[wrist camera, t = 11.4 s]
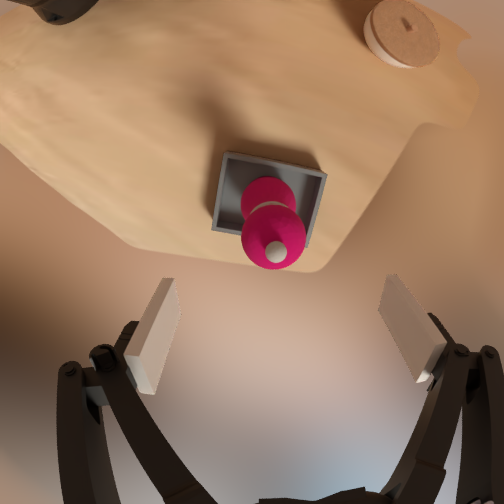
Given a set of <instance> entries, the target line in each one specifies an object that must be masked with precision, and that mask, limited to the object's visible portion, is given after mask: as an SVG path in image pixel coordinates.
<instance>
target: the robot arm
mask: <svg viewBox="0 0 504 504" xmlns="http://www.w3.org/2000/svg"><path fill="white" fill-rule="evenodd" d="M8 1H12V2H16V3H20V4H23V5H27V6H30V7H32V8H33V9H34V10H35V12H36V13H37V14H38V15H39V16H40V17H41V19H42V20H44V21H45V22H47V23H50V24H53V25H63V24H67V23H69V22H72V21H74V20H76V19H77V18H79V17H80V16H82V15H83V14H84V13H86V12H87V11H88V10H89V9H90V8H92V7H93V6H94V5H95V4H96V2H97V1H98V0H8ZM378 311H379V313H380V314H381V316H382V318H383V320H384V322H385V324H386V325H387V327H388V329H389V331H390V333H391V335H392V337H393V338H394V340H395V342H396V344H397V346H398V348H399V350H400V351H401V354H402V356H403V358H404V360H405V362H406V364H407V366H408V368H409V370H410V372H411V374H412V376H413V378H414V380H415V382H416V383H418V382H422V381H426V380H428V378H429V376H430V375H431V373H432V374H433V376H434V379H433V381H432V382H431V384H430V386H429V387H428V389H427V391H429V392H428V395H427V398H426V401H425V403H424V406H423V409H422V412H421V414H420V416H419V419H418V421H417V424H416V426H415V429H414V431H413V433H412V436H411V438H410V440H409V442H408V444H407V447H406V449H405V451H404V453H403V455H402V457H401V459H400V461H399V463H398V465H397V467H396V469H395V471H394V473H393V474H392V476H391V478H390V480H389V481H388V483H387V484H386V485H385V487H384V488H383V489H382V490H381V492H380V493H376V492H369V491H365V487H361V488H356V489H351V490H347V491H340V492H338V493H335V494H333V495H330V496H328V497H325V498H322V499H319V500H317V501H307V500H298V499H290V498H272V499H259V503H256V504H434V502H435V499H436V497H437V495H438V493H439V490H440V488H441V485H442V483H443V481H444V478H445V475H446V470H445V469H444V464H445V461H446V458H447V456H448V453H449V450H450V447H451V444H452V440H453V437H454V434H455V430H456V426H457V423H458V419H459V415H460V411H461V407H462V449H461V463H460V473H459V481H458V488H457V496H456V504H504V374H503V369H502V365H501V361H500V357H499V354H498V351H497V350H496V349H495V348H494V347H492V346H488V345H485V346H483V347H482V349H481V350H480V352H470V351H469V349H468V348H467V347H466V346H464V345H462V344H456V343H455V342H454V340H453V339H452V337H451V336H450V335H449V333H448V332H447V330H446V329H445V328H444V326H443V325H442V324H441V322H440V321H439V319H438V318H437V317H436V316H434V315H433V314H432V313H426V312H425V310H424V309H423V308H422V306H421V305H420V303H419V302H418V301H417V300H416V298H415V297H414V296H413V294H412V293H411V292H410V290H409V289H408V288H407V287H406V285H405V284H404V283H403V281H402V280H401V279H400V278H399V276H398V275H397V274H394V275H387V276H386V280H385V284H384V289H383V293H382V297H381V301H380V305H379V308H378ZM180 316H181V311H180V307H179V301H178V296H177V290H176V284H175V279H174V278H162V280H161V282H160V284H159V286H158V287H157V289H156V291H155V293H154V295H153V297H152V299H151V301H150V302H149V305H148V307H147V308H146V310H145V312H144V314H143V316H142V318H141V320H140V321H131V322H129V323H128V324H127V325H126V326H125V327H124V329H123V331H122V332H121V335H120V336H119V338H118V340H117V342H116V343H115V345H114V347H113V346H111V345H109V344H102V345H98V346H96V347H94V348H93V349H92V350H91V352H90V354H89V359H90V361H91V363H92V365H93V367H88V368H82V367H81V365H80V364H79V363H78V362H76V361H69V362H66V363H65V364H63V365H62V366H61V367H60V369H59V372H58V385H57V450H58V463H59V473H60V482H61V489H62V495H63V501H64V504H121V502H120V499H119V496H118V492H117V488H116V484H115V480H114V476H113V471H112V467H111V463H110V457H109V452H108V447H107V441H106V435H105V429H104V422H103V414H102V406H104V405H110V406H111V409H112V411H113V413H114V415H115V417H116V419H117V421H118V423H119V425H120V427H121V429H122V431H123V433H124V435H125V437H126V439H127V441H128V443H129V444H130V446H131V448H132V450H133V451H134V453H135V455H136V457H137V458H138V460H139V462H140V464H141V465H142V467H143V469H144V470H145V471H146V473H147V475H148V476H149V478H150V480H151V481H152V483H153V484H154V486H155V487H156V488H157V490H158V492H159V493H160V494H161V496H162V497H163V501H164V502H165V504H218V503H217V502H216V501H215V500H214V499H213V498H212V497H211V496H210V494H209V493H208V492H207V491H206V490H205V489H204V487H203V486H202V485H201V484H200V483H199V482H198V481H197V480H196V479H195V478H194V476H193V475H192V474H191V473H190V471H189V470H188V469H187V467H186V466H185V465H184V464H183V462H182V461H181V460H180V458H179V457H178V456H177V454H176V453H175V451H174V450H173V449H172V447H171V446H170V444H169V443H168V442H167V440H166V439H165V437H164V436H163V434H162V433H161V431H160V430H159V428H158V427H157V425H156V424H155V422H154V420H153V419H152V417H151V416H150V414H149V412H148V411H147V409H146V407H145V406H144V404H143V403H142V401H141V399H140V397H139V396H138V394H137V392H136V388H137V387H138V389H139V391H140V393H145V394H152V395H154V394H155V392H156V388H157V386H158V382H159V379H160V376H161V373H162V370H163V366H164V364H165V360H166V357H167V354H168V351H169V348H170V345H171V342H172V339H173V337H174V334H175V331H176V328H177V325H178V322H179V319H180Z"/></svg>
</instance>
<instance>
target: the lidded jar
mask: <svg viewBox="0 0 504 504" xmlns="http://www.w3.org/2000/svg"><path fill="white" fill-rule="evenodd" d="M363 30H364V37H365V40H366V43H367V45H368V47H369V48H370V50H371V51H372V52H373V53H374V54H375V55H376V56H377V57H378V58H379V59H380V60H382V61H383V62H385V63H387V64H389V65H392V66H394V67H399V68H415V67H423V66H427V65H429V64H431V63H433V62H434V61H435V60H436V58H437V56H438V54H439V50H440V42H439V37H438V33H437V31H436V29H435V27H434V25H433V23H432V22H431V20H430V19H429V18H428V17H427V16H426V14H425V13H423V12H422V11H421V10H420V9H419V8H417V7H416V6H414V5H413V4H411V3H409V2H407V1H404V0H382V1H380V2H379V3H378V4H377V5H376V6H375V7H374V8H373V9H372V10H371V12H370V13H369V14H368V16H367V18H366V20H365V23H364V29H363Z"/></svg>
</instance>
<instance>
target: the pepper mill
mask: <svg viewBox="0 0 504 504" xmlns="http://www.w3.org/2000/svg"><path fill="white" fill-rule="evenodd" d="M295 211H296V200H295V196H294V193H293V191H292V189H291V188H290V187H289V186H288V185H287V184H286V183H285V182H283V181H282V180H280V179H277V178H275V177H272V176H262V177H259V178H257V179H255V180H253V181H252V182H251V183H250V184H249V185H248V186H247V187H246V189H245V190H244V192H243V194H242V197H241V212H242V215H243V217H244V219H245V222H244V225H243V227H242V233H241V241H242V246H243V249H244V251H245V253H246V255H247V256H248V257H249V259H250V260H251V261H253V262H254V263H255V264H256V265H258V266H260V267H263V268H265V269H281V268H285V267H287V266H289V265H291V264H292V263H294V262H295V261H296V260H297V259H298V258H299V257H300V255H301V254H302V252H303V250H304V247H305V243H306V231H305V227H304V224H303V222H302V220H301V219H300V217H299V216H298V215H297V214H296V213H295Z"/></svg>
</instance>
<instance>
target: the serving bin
mask: <svg viewBox="0 0 504 504" xmlns="http://www.w3.org/2000/svg"><path fill="white" fill-rule="evenodd" d="M262 176H272V177H275V178H277V179H280V180H282V181H283V182H285V183H286V184H287V185H288V186H289V187H290V188H291V189H292V191H293V193H294V196H295V200H296V211H295V213H296V214H297V215H298V216H299V217H300V219H301V220H302V222H303V224H304V227H305V231H306V243H305V247H306V248H308V244H309V241H310V237H311V234H312V230H313V227H314V223H315V220H316V216H317V212H318V209H319V205H320V201H321V197H322V194H323V190H324V186H325V182H326V178H327V174H326V173H325V172H323V171H322V170H318V169H313V168H309V167H305V166H301V165H296V164H292V163H288V162H283V161H278V160H273V159H269V158H264V157H258V156H253V155H248V154H242V153H237V152H231V151H226V152H224V155H223V161H222V167H221V172H220V178H219V184H218V190H217V197H216V203H215V209H214V216H213V222H212V229H211V230H213V231H219V232H224V233H230V234H235V235H241V233H242V227H243V225H244V222H245V219H244V217H243V215H242V212H241V197H242V194H243V192H244V190H245V189H246V187H247V186H248V185H249V184H250V183H251V182H252V181H253V180H255V179H257V178H259V177H262Z"/></svg>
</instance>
